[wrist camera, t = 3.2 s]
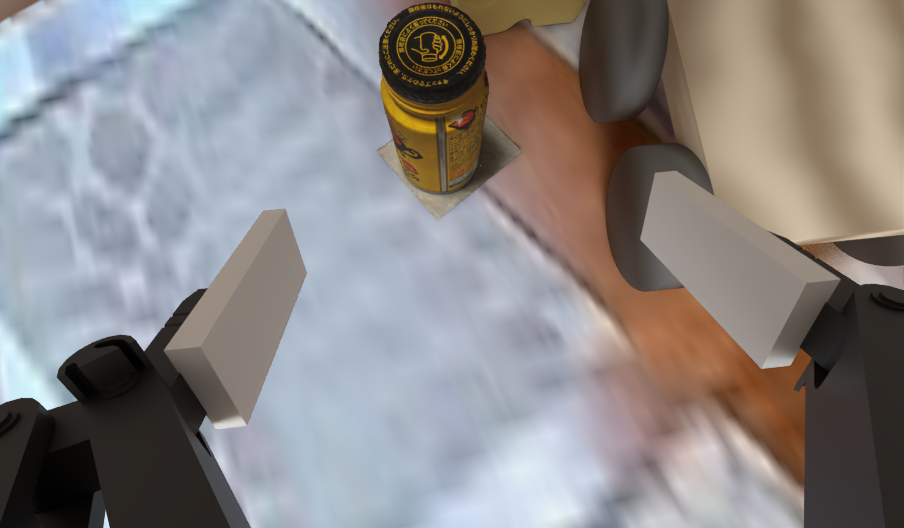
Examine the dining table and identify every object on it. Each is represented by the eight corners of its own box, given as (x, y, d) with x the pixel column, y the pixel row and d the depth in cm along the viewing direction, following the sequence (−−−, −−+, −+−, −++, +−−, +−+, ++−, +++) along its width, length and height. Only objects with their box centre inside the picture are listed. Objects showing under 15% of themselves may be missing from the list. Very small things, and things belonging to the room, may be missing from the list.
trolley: (786, 25, 33) (1486, -635, 11) (862, 274, 29) (2238, 43, 7) (572, 44, 33) (836, -602, 10) (619, 299, 29) (1219, 141, 6)
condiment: (377, 152, 31) (331, 35, 19) (460, 89, 32) (465, -59, 20) (437, 221, 30) (429, 142, 18) (521, 153, 31) (565, 37, 19)
